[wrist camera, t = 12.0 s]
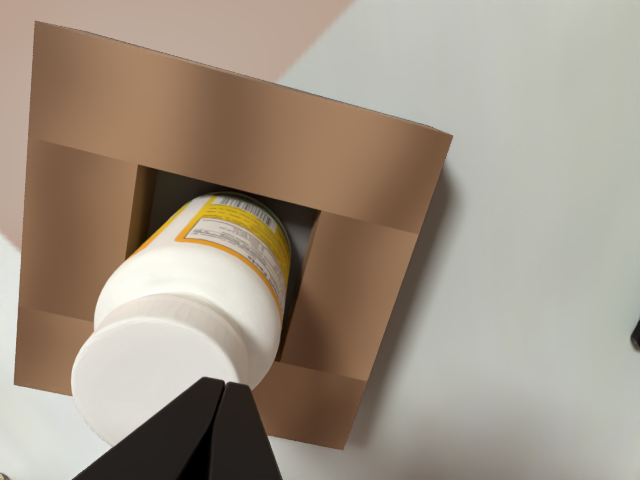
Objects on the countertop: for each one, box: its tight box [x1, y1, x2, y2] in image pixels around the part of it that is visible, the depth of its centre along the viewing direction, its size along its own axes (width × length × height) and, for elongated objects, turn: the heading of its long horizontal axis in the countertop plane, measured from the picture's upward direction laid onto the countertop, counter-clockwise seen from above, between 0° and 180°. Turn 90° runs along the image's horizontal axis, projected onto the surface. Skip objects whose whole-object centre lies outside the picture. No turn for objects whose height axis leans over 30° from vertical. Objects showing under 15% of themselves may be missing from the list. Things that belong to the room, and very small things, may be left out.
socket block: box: [14, 21, 453, 450], centre depth 19 cm, size 14×14×4 cm
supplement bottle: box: [71, 191, 291, 447], centre depth 15 cm, size 5×5×10 cm
